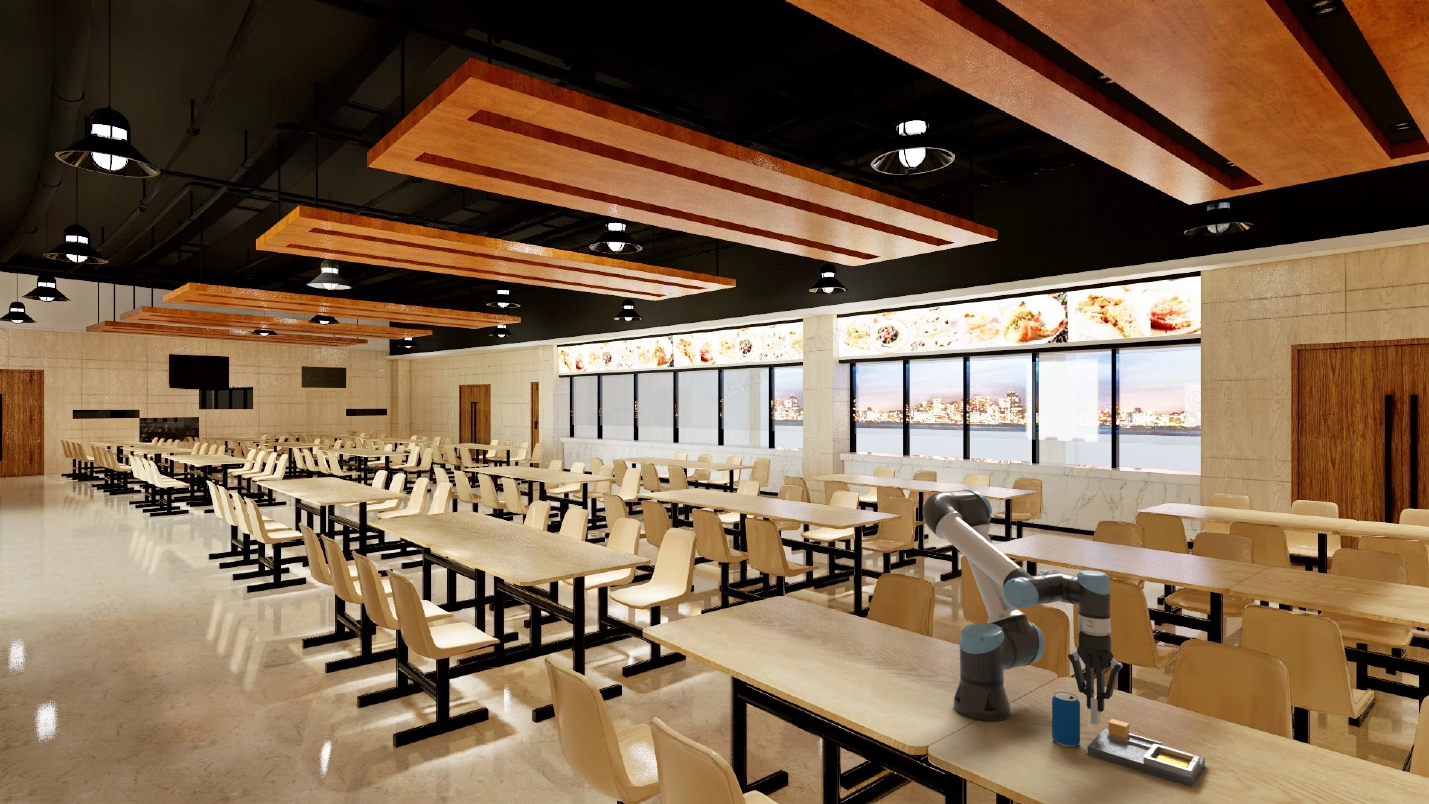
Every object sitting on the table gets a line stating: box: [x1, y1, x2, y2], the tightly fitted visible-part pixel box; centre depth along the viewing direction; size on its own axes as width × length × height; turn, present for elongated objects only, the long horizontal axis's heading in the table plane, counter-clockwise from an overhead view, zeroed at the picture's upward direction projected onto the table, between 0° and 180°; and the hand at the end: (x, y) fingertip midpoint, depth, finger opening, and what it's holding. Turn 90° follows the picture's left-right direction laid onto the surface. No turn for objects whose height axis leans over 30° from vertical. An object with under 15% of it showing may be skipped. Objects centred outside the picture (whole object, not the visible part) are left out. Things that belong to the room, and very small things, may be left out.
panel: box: [1086, 728, 1206, 788], centre depth 175 cm, size 22×14×4 cm, turn 46°
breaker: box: [1108, 718, 1130, 739], centre depth 183 cm, size 4×3×3 cm
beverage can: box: [1051, 691, 1081, 748], centre depth 184 cm, size 6×6×12 cm
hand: (1095, 722), depth 186 cm, fingers closed
